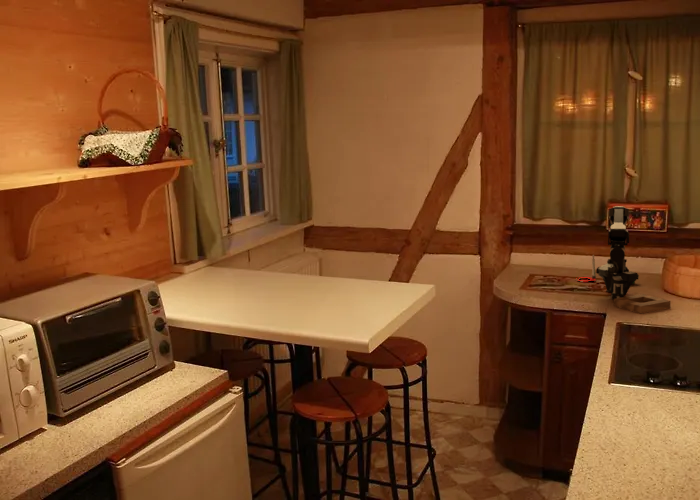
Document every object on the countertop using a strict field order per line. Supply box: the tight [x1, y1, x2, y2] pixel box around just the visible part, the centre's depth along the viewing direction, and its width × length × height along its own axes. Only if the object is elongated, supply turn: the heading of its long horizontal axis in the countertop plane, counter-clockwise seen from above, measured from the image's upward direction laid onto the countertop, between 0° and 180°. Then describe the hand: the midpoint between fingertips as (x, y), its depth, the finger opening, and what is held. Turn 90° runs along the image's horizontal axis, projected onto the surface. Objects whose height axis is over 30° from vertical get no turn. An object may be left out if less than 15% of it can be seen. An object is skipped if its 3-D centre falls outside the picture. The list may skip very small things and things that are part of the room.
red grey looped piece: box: [578, 254, 597, 283], centre depth 322 cm, size 8×13×9 cm
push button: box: [607, 276, 625, 301], centre depth 284 cm, size 7×5×10 cm
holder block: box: [613, 293, 672, 314], centre depth 272 cm, size 14×16×3 cm
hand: (616, 292), depth 285 cm, fingers open, 9 cm apart
